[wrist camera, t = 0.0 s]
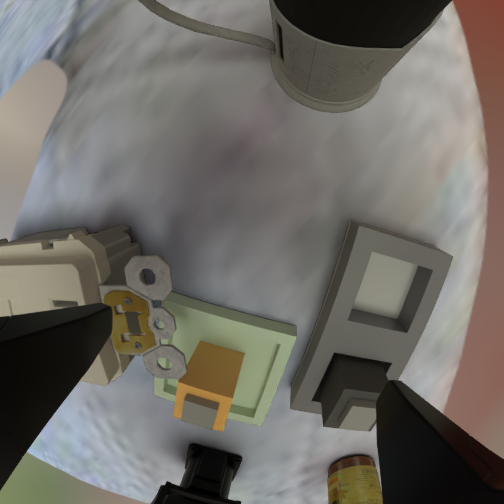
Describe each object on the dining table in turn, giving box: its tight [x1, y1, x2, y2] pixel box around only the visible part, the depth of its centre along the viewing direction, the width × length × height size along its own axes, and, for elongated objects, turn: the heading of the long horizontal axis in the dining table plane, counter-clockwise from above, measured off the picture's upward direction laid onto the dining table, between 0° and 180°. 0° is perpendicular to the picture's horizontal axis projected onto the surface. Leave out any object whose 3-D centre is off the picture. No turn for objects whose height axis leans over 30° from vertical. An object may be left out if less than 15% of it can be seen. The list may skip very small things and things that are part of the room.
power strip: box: [290, 220, 453, 414], centre depth 21 cm, size 16×8×3 cm, turn 167°
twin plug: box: [319, 352, 389, 431], centre depth 20 cm, size 4×4×7 cm
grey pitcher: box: [138, 0, 452, 113], centre depth 11 cm, size 9×14×15 cm, turn 91°
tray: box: [154, 292, 297, 426], centre depth 25 cm, size 11×11×2 cm
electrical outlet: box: [0, 224, 188, 386], centre depth 21 cm, size 12×28×10 cm, turn 93°
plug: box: [174, 341, 245, 432], centre depth 22 cm, size 4×4×7 cm
